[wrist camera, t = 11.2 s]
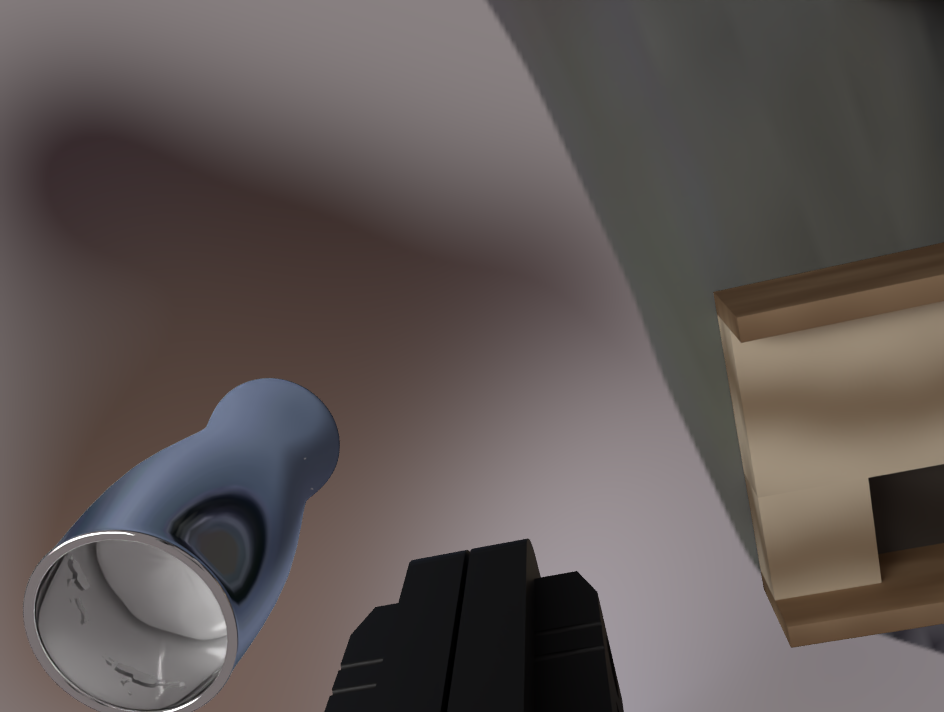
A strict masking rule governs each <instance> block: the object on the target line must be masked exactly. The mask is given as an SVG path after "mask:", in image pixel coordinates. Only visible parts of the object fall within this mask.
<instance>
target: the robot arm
mask: <svg viewBox="0 0 944 712" xmlns="http://www.w3.org/2000/svg"><path fill="white" fill-rule="evenodd" d="M332 691H333V695H332V696H330V697H329V700H328V703H327V706H326V709H325V712H624V710H623V703H622V697H621V693H620V689H619V684H618V680H617V676H616V671H615V667H614V663H613V659H612V654H611V650H610V645H609V641H608V636H607V632H606V628H605V623H604V619H603V615H602V610H601V606H600V602H599V598H598V593H597V591H595V589H594V588H593V587H592V586H591V585H590V584H589V583H588V582H587V581H586V580H585V579H584V578H583V577H582V576H581V575H580V574H579V573H578V572H577V571H575V572H570V573H564V574H558V575H553V576H547V577H542V578H541V577H540V573H539V569H538V565H537V561H536V557H535V553H534V550H533V547H532V544H531V542H530V540H529V539H523V540H518V541H513V542H507V543H502V544H496V545H491V546H485V547H480V548H474V549H472V550H471V551H468V550H465V551H459V552H454V553H449V554H443V555H438V556H432V557H427V558H421V559H416V560H412V561H411V562H410V563H409V566H408V570H407V573H406V577H405V581H404V584H403V588H402V592H401V595H400V599H399V603H396V604H391V605H385V606H379V607H375V608H374V609H373V611H372V612H371V613H370V614H369V615H368V616H367V617H366V618H365V620H364V621H363V622H362V623H361V624H360V625H359V626H358V627H357V629H356V630H355V631H354V632H353V634H351V636H350V639H349V642H348V645H347V648H346V650H345V653H344V656H343V659H342V662H341V670H339V671H338V674H337V677H336V680H335V682H334V685H333V688H332Z"/></svg>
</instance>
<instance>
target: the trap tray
mask: <svg viewBox="0 0 944 712" xmlns="http://www.w3.org/2000/svg"><path fill="white" fill-rule="evenodd" d="M713 293H714V298H715V304H716V310H717V316H718V322H719V328H720V334H721V340H722V345H723V351H724V357H725V363H726V369H727V375H728V381H729V387H730V393H731V398H732V404H733V410H734V416H735V422H736V428H737V434H738V440H739V445H740V451H741V457H742V463H743V469H744V475H745V481H746V487H747V492H748V498H749V504H750V510H751V516H752V522H753V528H754V534H755V539H756V545H757V551H758V557H759V563H760V569H761V575H762V581H763V587H764V590H765V592H766V594H767V597H768V599H769V601H770V603H771V605H772V607H773V610H774V612H775V614H776V616H777V618H778V620H779V623H780V624H781V627H782V629H783V631H784V633H785V635H786V638H787V640H788V642H789V644H790V646H791V647H799V646H805V645H811V644H818V643H824V642H830V641H836V640H843V639H849V638H856V637H862V636H868V635H875V634H881V633H887V632H894V631H900V630H906V629H913V628H919V627H925V626H932V625H938V624H944V243H939V244H935V245H930V246H925V247H921V248H916V249H912V250H907V251H902V252H898V253H893V254H888V255H884V256H879V257H874V258H870V259H865V260H860V261H856V262H851V263H846V264H842V265H837V266H832V267H828V268H823V269H818V270H814V271H809V272H804V273H800V274H795V275H790V276H786V277H781V278H777V279H772V280H767V281H763V282H758V283H753V284H749V285H744V286H739V287H735V288H730V289H725V290H721V291H716V292H713Z"/></svg>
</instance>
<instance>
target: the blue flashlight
mask: <svg viewBox="0 0 944 712" xmlns="http://www.w3.org/2000/svg"><path fill="white" fill-rule="evenodd" d="M339 448H340V441H339V434H338V429H337V426H336V423H335V421H334V419H333V416H332V415H331V413H330V411H329V410H328V408H327V407H326V406H325V405H324V403H323V402H322V401H321V400H320V399H319V398H318V397H317V396H315V395H314V394H313V393H312V392H310V391H309V390H308V389H306V388H304V387H302V386H300V385H298V384H296V383H293V382H290V381H287V380H283V379H276V378H264V379H256V380H252V381H249V382H246V383H243V384H241V385H239V386H237V387H236V388H234V389H233V390H231V391H230V392H229V393H228V394H226V396H224V398H223V399H222V400H221V401H220V402H219V404H218V405H217V406H216V408H215V410H214V412H213V413H212V416H211V418H210V420H209V422H208V424H207V426H206V428H205V429H203V430H201V431H200V432H198V433H196V434H194V435H192V436H189V437H187V438H185V439H183V440H181V441H179V442H177V443H175V444H173V445H171V446H169V447H167V448H165V449H163V450H161V451H159V452H158V453H156V454H154V455H153V456H151V457H149V458H148V459H146V460H144V461H143V462H141V463H140V464H138V465H136V466H135V467H134V468H132V469H131V470H130V471H129V472H127V473H126V474H125V475H124V476H122V477H121V478H120V479H119V480H118V481H116V482H115V483H114V484H113V485H111V486H110V487H109V488H108V489H107V490H106V491H105V492H104V493H103V494H102V495H101V496H100V497H99V498H98V499H97V500H96V501H95V502H94V503H93V504H92V505H91V506H90V507H89V508H88V509H87V510H86V511H85V512H84V513H83V515H82V516H81V517H80V518H79V519H78V520H77V521H76V522H75V524H74V525H73V526H72V527H71V528H70V529H69V531H68V532H67V533H66V534H65V535H64V537H63V538H62V539H61V540H60V541H59V543H58V544H57V545H56V546H55V547H54V548H53V549H52V550H51V551H50V552H49V553H47V554H46V556H44V557H43V559H42V560H41V561H40V562H39V563H38V565H37V566H36V568H35V570H34V571H33V573H32V575H31V577H30V579H29V582H28V584H27V587H26V591H25V595H24V602H23V618H24V625H25V631H26V634H27V638H28V641H29V643H30V646H31V648H32V650H33V652H34V654H35V656H36V658H37V660H38V661H39V663H40V664H41V666H42V667H43V669H44V670H45V671H46V673H47V674H48V675H49V676H50V677H51V679H52V680H53V681H54V682H55V683H56V684H57V685H58V686H59V687H61V688H62V689H63V690H64V691H65V692H66V693H68V694H69V695H70V696H72V697H73V698H75V699H76V700H78V701H79V702H81V703H83V704H84V705H86V706H88V707H90V708H92V709H94V710H96V711H99V712H193V711H195V710H197V709H199V708H200V707H202V706H203V705H205V704H206V703H208V702H209V701H210V700H211V699H212V698H214V697H215V696H216V694H218V692H219V691H220V690H221V689H222V687H223V686H224V685H225V683H226V682H227V680H228V679H229V677H230V675H231V673H232V671H233V669H234V668H235V666H236V665H237V663H238V662H239V660H240V659H241V658H242V656H243V655H244V654H245V652H246V651H247V649H248V648H249V646H250V645H251V643H252V642H253V640H254V639H255V637H256V636H257V634H258V633H259V631H260V629H261V628H262V626H263V625H264V623H265V621H266V620H267V618H268V616H269V614H270V613H271V611H272V609H273V607H274V606H275V604H276V602H277V600H278V597H279V595H280V593H281V591H282V589H283V587H284V584H285V582H286V580H287V578H288V575H289V572H290V569H291V565H292V562H293V558H294V555H295V552H296V548H297V544H298V539H299V534H300V529H301V524H302V518H303V512H304V507H305V503H306V501H307V500H308V499H309V498H310V497H311V496H312V495H314V494H315V493H316V492H317V491H318V490H319V489H320V488H321V487H322V486H323V485H324V484H325V483H326V482H327V481H328V479H329V478H330V476H331V474H332V473H333V471H334V469H335V467H336V464H337V461H338V457H339Z"/></svg>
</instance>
